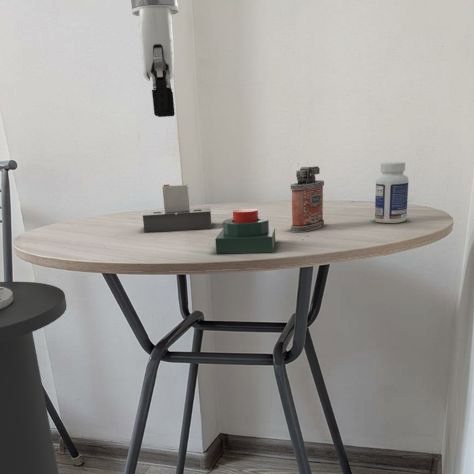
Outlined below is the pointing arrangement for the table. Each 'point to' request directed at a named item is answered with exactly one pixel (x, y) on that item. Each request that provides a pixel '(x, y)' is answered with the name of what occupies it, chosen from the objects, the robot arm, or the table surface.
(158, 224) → the panel
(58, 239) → the table surface
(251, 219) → the stop button
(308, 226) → the lighter
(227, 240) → the green button base
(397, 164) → the pill bottle
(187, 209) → the light grey block
